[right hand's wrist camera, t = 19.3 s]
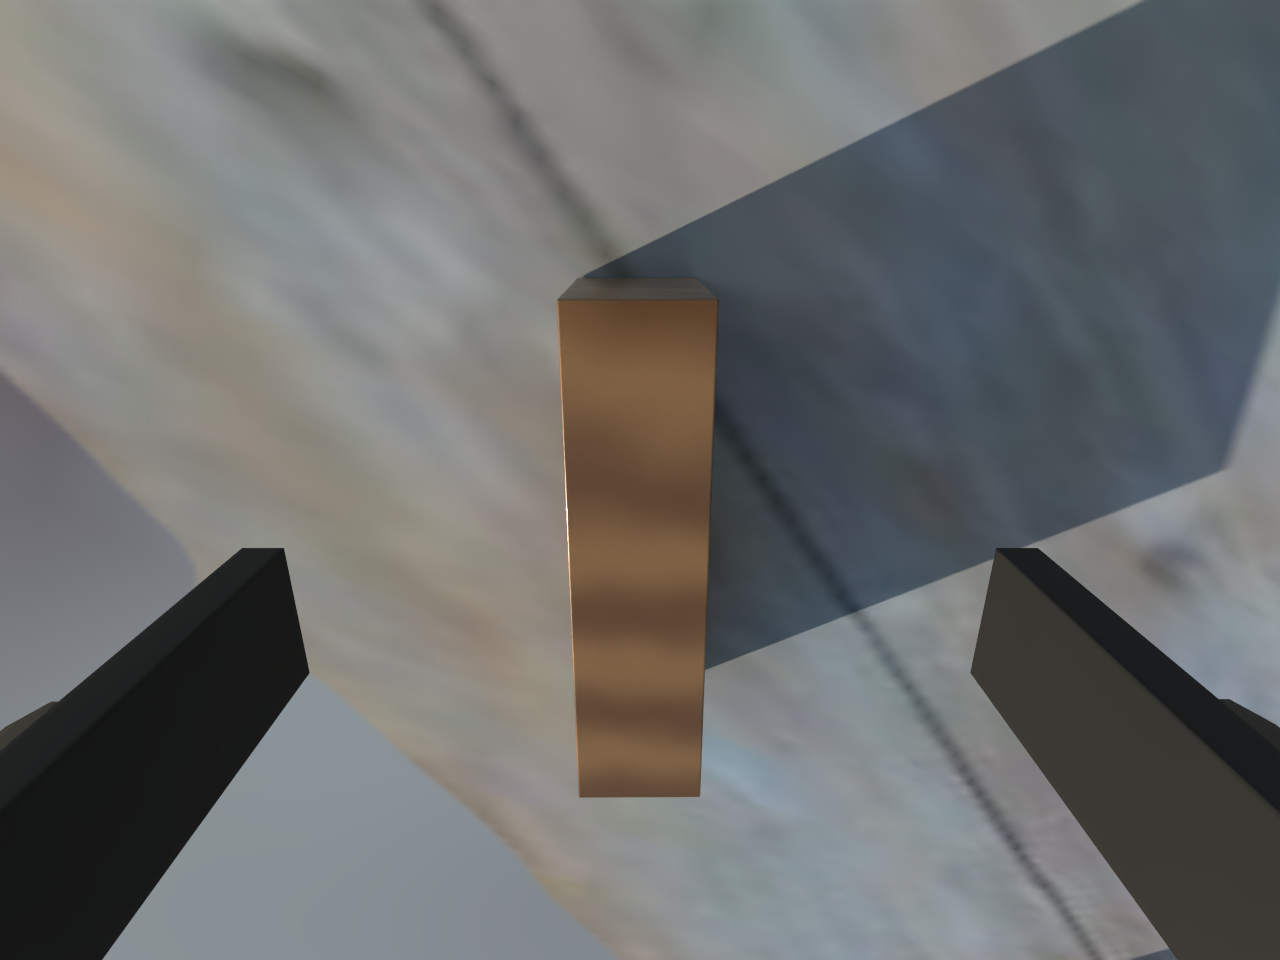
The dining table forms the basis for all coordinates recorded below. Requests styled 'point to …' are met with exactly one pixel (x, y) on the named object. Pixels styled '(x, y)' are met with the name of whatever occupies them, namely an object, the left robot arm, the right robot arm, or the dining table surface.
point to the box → (638, 526)
